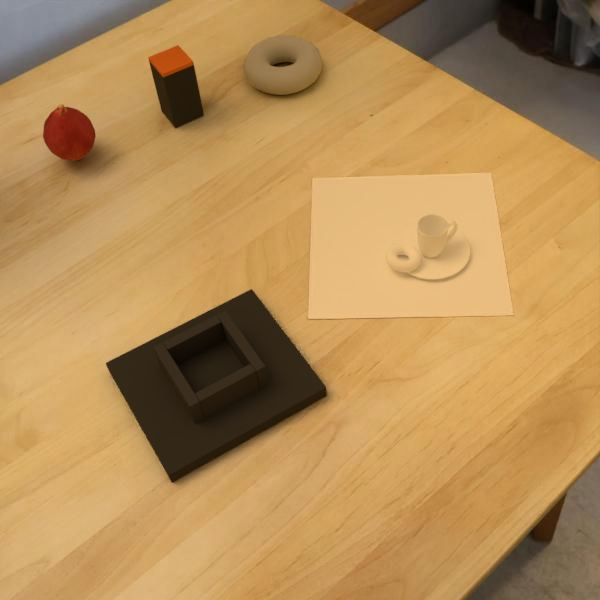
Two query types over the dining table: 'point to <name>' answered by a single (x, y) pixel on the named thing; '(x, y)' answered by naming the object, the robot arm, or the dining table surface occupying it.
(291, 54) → the donut
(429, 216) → the teacup and saucer
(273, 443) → the dining table surface
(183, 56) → the pad block
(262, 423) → the base pad
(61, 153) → the pomegranate
